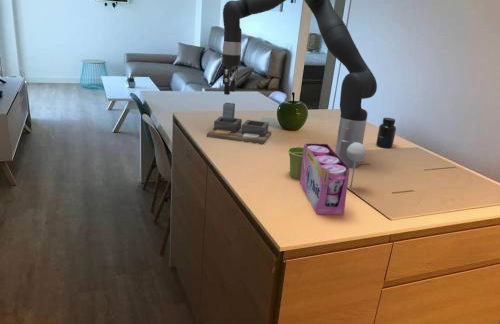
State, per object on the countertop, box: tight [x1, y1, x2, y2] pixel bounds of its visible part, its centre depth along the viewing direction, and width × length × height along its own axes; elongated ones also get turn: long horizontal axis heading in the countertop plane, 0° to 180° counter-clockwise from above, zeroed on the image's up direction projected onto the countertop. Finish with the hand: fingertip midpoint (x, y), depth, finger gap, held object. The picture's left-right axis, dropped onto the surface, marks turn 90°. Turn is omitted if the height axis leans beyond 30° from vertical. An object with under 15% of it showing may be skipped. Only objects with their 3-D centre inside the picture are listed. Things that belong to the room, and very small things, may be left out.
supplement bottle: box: [375, 117, 397, 149], centre depth 188 cm, size 7×7×12 cm
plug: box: [222, 102, 236, 123], centre depth 190 cm, size 4×4×11 cm
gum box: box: [299, 142, 351, 216], centre depth 131 cm, size 24×8×14 cm, turn 6°
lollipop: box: [347, 143, 367, 189], centre depth 140 cm, size 6×6×15 cm
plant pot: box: [287, 146, 304, 180], centre depth 148 cm, size 9×9×9 cm
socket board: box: [206, 115, 272, 145], centre depth 188 cm, size 16×24×6 cm, turn 77°
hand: (229, 92), depth 186 cm, fingers open, 8 cm apart
